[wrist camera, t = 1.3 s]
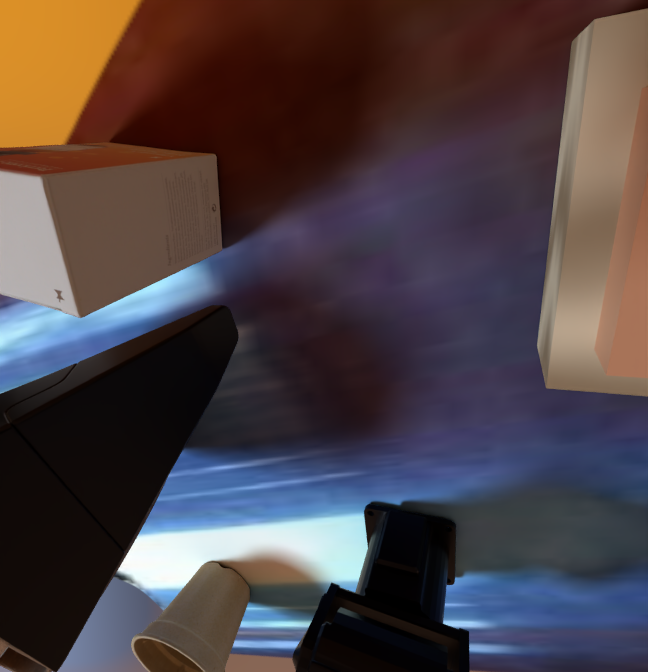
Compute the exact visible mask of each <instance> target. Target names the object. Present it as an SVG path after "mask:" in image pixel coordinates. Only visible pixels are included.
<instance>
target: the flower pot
mask: <svg viewBox="0 0 648 672" xmlns="http://www.w3.org/2000/svg"><path fill="white" fill-rule="evenodd" d="M249 600H250V589H249V586H248V585H247V583H246V582H245V581H244V579H243V578H242V577H241V576H240V575H239V574H238V573H236V572H235V571H234V570H232V569H230V568H227V569H226V568H222V567H221V566H220V565H219V563H213V562H209V563H205V564H204V565H202V566H201V567H200V569H199V570H198V571H197V572H196V574H195V575H194V576H193V577H192V578H191V580H190V581H189V582H188V583H187V584H186V586H185V587H184V588H183V589H182V590H181V591H180V593H179V594H178V595H177V596H176V597H175V599H174V600H173V601H172V602H171V603H170V604H169V606H168V607H167V608H166V609H165V610H164V612H163V613H162V614H161V615H160V616H159V617H158V619H157V620H156V621H154V622H152V623H150V624H149V625H148V627H147V628H146V629H145V630H144V631H143V632H142V633H139V634H137V635H135V636H134V638H133V639H132V643H131V647H132V650H133V652H134V654H135V656H136V657H137V659H138V660H139V661H140V662H141V664H142V665H143V666H144V667H145V668H146V669H147V670H148V671H149V672H225V666H226V663H227V660H228V657H229V654H230V652H231V649H232V646H233V643H234V640H235V638H236V635H237V632H238V629H239V627H240V624H241V621H242V618H243V616H244V613H245V610H246V608H247V605H248V602H249Z"/></svg>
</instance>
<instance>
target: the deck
mask: <svg viewBox="0 0 648 672" xmlns="http://www.w3.org/2000/svg"><path fill="white" fill-rule="evenodd" d="M645 87H648V9H643V10H638V11H633V12H628V13H623V14H618V15H613V16H608V17H604V18H599V19H595V20H594V21H593V22H592V23H591V24H590V25H589V26H588V27H587V28H585V29H584V30H583V31H582V32H581V33H580V34H579V35H578V36H577V37H576V38H575V39H574V40H573V41H572V46H571V55H570V64H569V72H568V81H567V90H566V99H565V107H564V116H563V125H562V133H561V142H560V151H559V160H558V168H557V177H556V186H555V195H554V203H553V212H552V221H551V229H550V238H549V247H548V256H547V264H546V273H545V282H544V291H543V299H542V308H541V317H540V325H539V334H538V343H537V347H538V352H539V357H540V362H541V366H542V371H543V376H544V380H545V385H546V388H550V389H563V390H575V391H588V392H600V393H613V394H625V395H638V396H648V378H638V377H623V376H608V375H606V374H605V372H604V369H603V367H602V365H601V363H600V361H599V359H598V356H597V354H596V352H595V350H594V348H595V342H596V337H597V331H598V326H599V320H600V315H601V310H602V304H603V299H604V293H605V288H606V282H607V277H608V271H609V266H610V260H611V255H612V249H613V244H614V238H615V233H616V228H617V222H618V217H619V211H620V206H621V200H622V195H623V189H624V184H625V178H626V173H627V167H628V162H629V156H630V151H631V146H632V140H633V135H634V129H635V124H636V118H637V113H638V107H639V102H640V96H641V91H642V88H645Z"/></svg>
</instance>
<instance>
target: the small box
mask: <svg viewBox="0 0 648 672" xmlns="http://www.w3.org/2000/svg"><path fill="white" fill-rule="evenodd" d="M220 251H222V235H221V219H220V204H219V189H218V173H217V157H216V155H215V154H209V153H195V152H183V151H174V150H166V149H158V148H151V147H143V146H134V145H126V144H118V143H109V142H105V143H92V144H74V145H49V146H33V147H15V148H0V294H2V295H5V296H9V297H13V298H17V299H21V300H24V301H27V302H31V303H35V304H38V305H42V306H45V307H49V308H52V309H55V310H58V311H62V312H64V313H66V314H70V315H73V316H75V317H78V318H82V317H85V316H87V315H88V314H90V313H92V312H94V311H97V310H99V309H101V308H103V307H105V306H107V305H109V304H111V303H113V302H116V301H118V300H120V299H122V298H124V297H126V296H128V295H130V294H132V293H135V292H137V291H139V290H141V289H143V288H145V287H147V286H149V285H151V284H153V283H156V282H158V281H160V280H162V279H164V278H166V277H168V276H170V275H172V274H175V273H177V272H179V271H181V270H183V269H185V268H187V267H189V266H191V265H193V264H196V263H198V262H200V261H202V260H204V259H206V258H208V257H210V256H212V255H214V254H216V253H218V252H220Z"/></svg>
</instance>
